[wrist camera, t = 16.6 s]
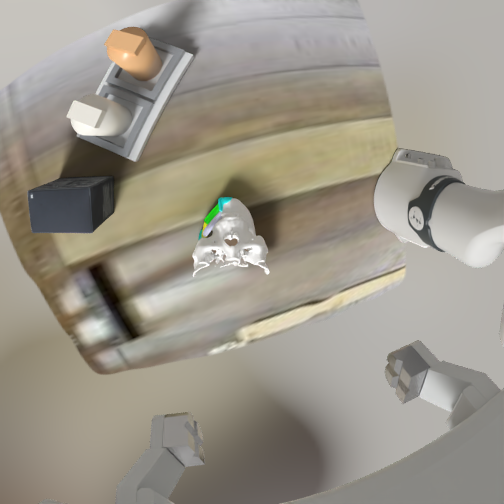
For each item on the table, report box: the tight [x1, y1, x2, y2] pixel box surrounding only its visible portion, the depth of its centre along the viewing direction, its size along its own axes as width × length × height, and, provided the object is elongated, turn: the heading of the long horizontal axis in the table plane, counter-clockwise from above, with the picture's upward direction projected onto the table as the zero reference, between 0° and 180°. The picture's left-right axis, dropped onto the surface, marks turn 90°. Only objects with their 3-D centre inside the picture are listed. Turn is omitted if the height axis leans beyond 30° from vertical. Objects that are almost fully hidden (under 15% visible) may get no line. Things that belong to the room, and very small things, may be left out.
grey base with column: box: [67, 37, 194, 162], centre depth 29 cm, size 18×11×14 cm, turn 151°
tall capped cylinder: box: [104, 27, 162, 81], centre depth 27 cm, size 5×5×12 cm
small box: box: [28, 176, 114, 233], centre depth 35 cm, size 11×6×10 cm, turn 85°
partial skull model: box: [192, 197, 269, 277], centre depth 43 cm, size 12×9×10 cm
